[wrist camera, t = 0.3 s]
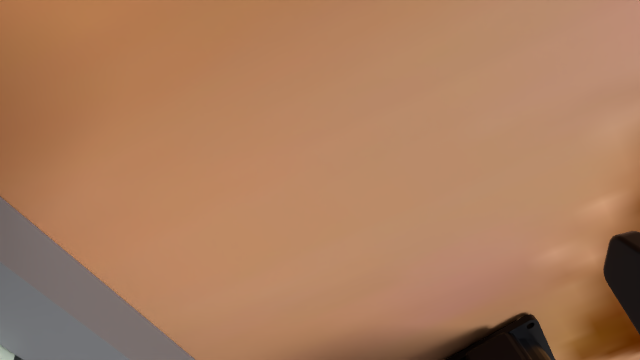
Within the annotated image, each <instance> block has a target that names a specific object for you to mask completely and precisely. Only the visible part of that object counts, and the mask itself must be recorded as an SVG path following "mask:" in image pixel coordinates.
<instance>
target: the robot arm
mask: <svg viewBox="0 0 640 360" xmlns="http://www.w3.org/2000/svg"><path fill="white" fill-rule="evenodd" d="M603 270H604V276H605V279H606V281H607V283H608V285H609V287H610V288H611V290H612V291H613V293H614V294H615V296H616V298H617V299H618V301H619V302H620V304H621V306H622V307H623V309H624V310H625V312H626V314H627V315H628V317H629V318H630V320H631V322H632V323H633V325H634V326H635V328H636V330H637V331H638V333H639V334H640V232H637V231H630V232H626V233H622V234H618V235H615V236H613V237H612V238H611V240H610V242H609V246H608V250H607V255H606V259H605V263H604V269H603ZM446 360H555V358H554V356H553V354H552V352H551V349H550V347H549V345H548V343H547V340H546V338H545V336H544V334H543V331H542V329H541V327H540V324H539V322H538V321H537V319H536V318H535V317H534V316H533V315H531V314H530V315H526V316H524V317H522V318H520V319H519V320H517V321H515V322H513V323H511V324H510V325H508V326H506V327H504V328H502V329H500V330H499V331H497V332H495V333H493V334H491V335H490V336H488V337H486V338H484V339H482V340H481V341H479V342H477V343H475V344H473V345H472V346H470V347H468V348H466V349H464V350H463V351H461V352H459V353H457V354H455V355H454V356H452V357H450V358H448V359H446Z"/></svg>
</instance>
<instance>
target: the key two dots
mask: <svg viewBox="0 0 640 360" xmlns="http://www.w3.org/2000/svg"><path fill="white" fill-rule="evenodd" d="M14 357H15V354H14V353H12V352H10V351H9V350H7V349H6V348H4V347H3V346H1V345H0V360H14Z"/></svg>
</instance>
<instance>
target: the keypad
mask: <svg viewBox="0 0 640 360" xmlns="http://www.w3.org/2000/svg"><path fill="white" fill-rule="evenodd" d="M0 345H1V346H3V347H4V348H6V349H7V350H9V351H10V352H12V353H14V354H15V357H14V360H195V359H194V358H192V357H191V356H190V355H189V354H188V353H186V352H185V351H184V350H183V349H182V348H181V347H179V346H178V345H177V344H176V343H175V342H173V341H172V340H171V339H170V338H169V337H167V336H166V335H165V334H164V333H163V332H161V331H160V330H159V329H158V328H157V327H155V326H154V325H153V324H152V323H151V322H149V321H148V320H147V319H146V318H145V317H143V316H142V315H141V314H140V313H139V312H138V311H136V310H135V309H134V308H133V307H132V306H130V305H129V304H128V303H127V302H126V301H124V300H123V299H122V298H121V297H120V296H118V295H117V294H116V293H115V292H114V291H112V290H111V289H110V288H109V287H108V286H106V285H105V284H104V283H103V282H102V281H100V280H99V279H98V278H97V277H96V276H95V275H93V274H92V273H91V272H90V271H89V270H87V269H86V268H85V267H84V266H83V265H81V264H80V263H79V262H78V261H77V260H75V259H74V258H73V257H72V256H71V255H69V254H68V253H67V252H66V251H65V250H63V249H62V248H61V247H60V246H59V245H57V244H56V243H55V242H54V241H53V240H52V239H50V238H49V237H48V236H47V235H46V234H44V233H43V232H42V231H41V230H40V229H38V228H37V227H36V226H35V225H34V224H32V223H31V222H30V221H29V220H28V219H26V218H25V217H24V216H23V215H22V214H20V213H19V212H18V211H17V210H16V209H14V208H13V207H12V206H11V205H10V204H9V203H7V202H6V201H5V200H4V199H3V198H1V197H0Z"/></svg>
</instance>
